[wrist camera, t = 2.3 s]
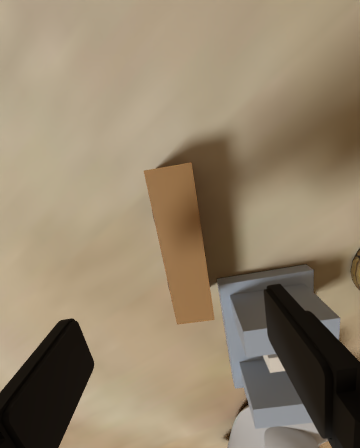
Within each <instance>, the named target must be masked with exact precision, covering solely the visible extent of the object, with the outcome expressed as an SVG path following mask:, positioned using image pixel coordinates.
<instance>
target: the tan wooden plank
mask: <svg viewBox="0 0 360 448" xmlns="http://www.w3.org/2000/svg"><path fill="white" fill-rule="evenodd" d="M144 174H145V179H146V183H147V188H148V193H149V197H150V202H151V206H152V213H153V218H154V222H155V225H156V229H157V234H158V239H159V243H160V248H161V252H162V257H163V262H164V266H165V271H166V275H167V281H168V287H169V290H170V294H171V299H172V303H173V308H174V312H175V317H176V322H177V324H185V323H193V322H201V321H209V320H214V313H213V306H212V299H211V292H210V285H209V279H208V272H207V265H206V258H205V251H204V244H203V237H202V231H201V224H200V217H199V210H198V203H197V196H196V189H195V183H194V176H193V169H192V162H190V163H184V164H179V165H173V166H168V167H162V168H157V169H151V170H145V171H144Z"/></svg>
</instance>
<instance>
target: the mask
mask: <svg viewBox="0 0 360 448" xmlns="http://www.w3.org/2000/svg"><path fill="white" fill-rule="evenodd" d="M327 441H328V439H323V438H322V437H321V436H320V434H319V433H318V431H317V429H316V427H315V425H314V424H313V423H305V424H296V425H287V426H277V427H268V428H259V429H255V425H254V422H253V418H252V415H251V411H250V408H249V405H248V406H246V407H245V408H244V409H243V410H242V411H241V412H240V413H239V415H238V416H237V418H236V420H235V422H234V424H233V427H232V430H231V434H230V439H229V443H228V447H227V448H319V445H321V444H322V443H324V442H327Z"/></svg>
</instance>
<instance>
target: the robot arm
mask: <svg viewBox="0 0 360 448" xmlns="http://www.w3.org/2000/svg"><path fill="white" fill-rule="evenodd" d="M264 302H265V313H266V324H267V334H268V338H269V341H270V343H271V345H272V347H273V349H274V351H275V353H276V354H277V356H278V358H279V360H280V362H281V364H282V366H283V368H284V369H285V371H286V373H287V375H288V377H289V379H290V381H291V382H292V384H293V386H294V388H295V390H296V392H297V394H298V396H299V397H300V399H301V401H302V403H303V405H304V407H305V409H306V410H307V412H308V414H309V416H310V418H311V420H312V422H313V424H314V425H315V427H316V429H317V431H318V433H319V434H320V436H321V437H322V438H323V439H328V441H329V443H330V445H331V446H332V448H360V362H359V361H358V360H357V359H356V358H355V357H354V356H353V355H352V353H351V352H350V351H349V350H348V349H347V348H346V347H345V346H344V345H343V344H342V343H341V342H340V341H339V340H338V339H337V338H336V337H335V336H334V335H333V334H332V333H331V332H330V330H329V329H328V328H327V327H326V326H325V325H324V324H323V323H322V322H321V321H320V320H319V319H318V318H317V317H316V316H315V315H314V314H313V313H312V312H311V311H308V310H307V311H305V310H304V309H303V308H302V307H301V306H300V305H299V304H298V302H297V301H296V300H295V299H294V298H293V297H292V296H291V295H290V294H289V293H288V292H287V290H286V289H285V288H284V287H283V286H282V285H281V284H274V285H268V286H267V289H264ZM93 368H94V361H93V358H92V356H91V353H90V351H89V348H88V346H87V343H86V341H85V338H84V336H83V333H82V331H81V328H80V326H79V323H78V322H77V321H75V320H74V319H66V320H61V321H59V322H58V323H57V324H56V326H55V327H54V328H53V329H52V330H51V332H50V333H49V334H48V335H47V336H46V338H45V339H44V340H43V341H42V343H41V344H40V345H39V346H38V347H37V349H36V350H35V351H34V352H33V353H32V355H31V356H30V357H29V358H28V360H27V361H26V362H25V363H24V364H23V366H22V367H21V368H20V369H19V370H18V372H17V373H16V374H15V375H14V377H13V378H12V379H11V380H10V381H9V383H8V384H7V385H6V386H5V387H4V389H3V390H2V391H1V392H0V448H58V447H59V445H60V443H61V441H62V438H63V436H64V434H65V432H66V429H67V427H68V425H69V423H70V420H71V418H72V416H73V414H74V411H75V409H76V407H77V405H78V402H79V400H80V398H81V396H82V393H83V391H84V389H85V387H86V385H87V382H88V380H89V378H90V376H91V373H92V371H93Z"/></svg>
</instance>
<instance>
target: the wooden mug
mask: <svg viewBox="0 0 360 448" xmlns="http://www.w3.org/2000/svg"><path fill="white" fill-rule="evenodd" d="M351 276H352V280H353V282H354V284H355V286H356V287H357V288H358V289H359V290H360V249H359V251H358V252H357V254H356V256H355V258H354V260H353V263H352V268H351Z"/></svg>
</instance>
